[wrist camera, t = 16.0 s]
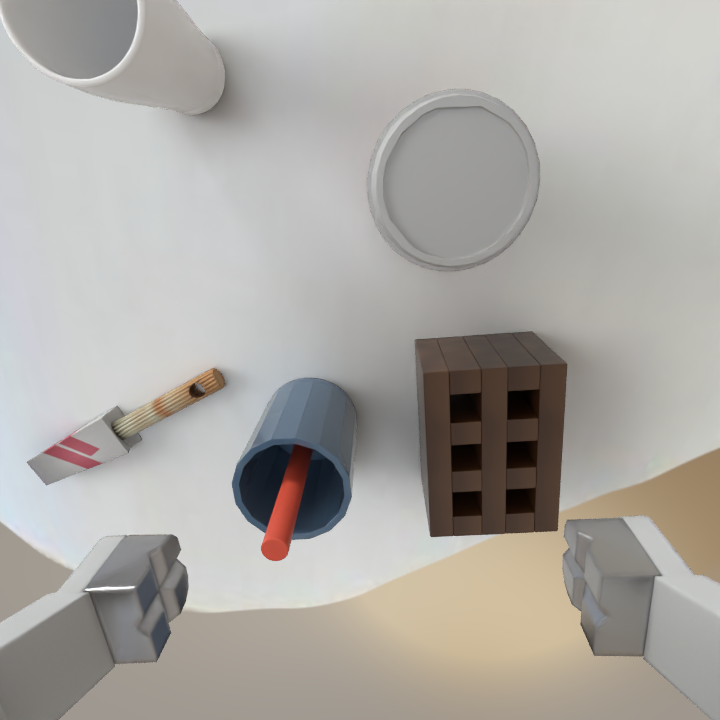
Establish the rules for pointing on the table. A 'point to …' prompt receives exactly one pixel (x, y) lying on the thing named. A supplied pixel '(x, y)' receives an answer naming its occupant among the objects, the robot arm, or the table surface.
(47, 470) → the grey and wooden tool
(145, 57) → the drinking glass
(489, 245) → the disposable coffee cup
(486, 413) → the caddy
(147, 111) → the table surface
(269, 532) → the straw
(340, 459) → the tumbler
